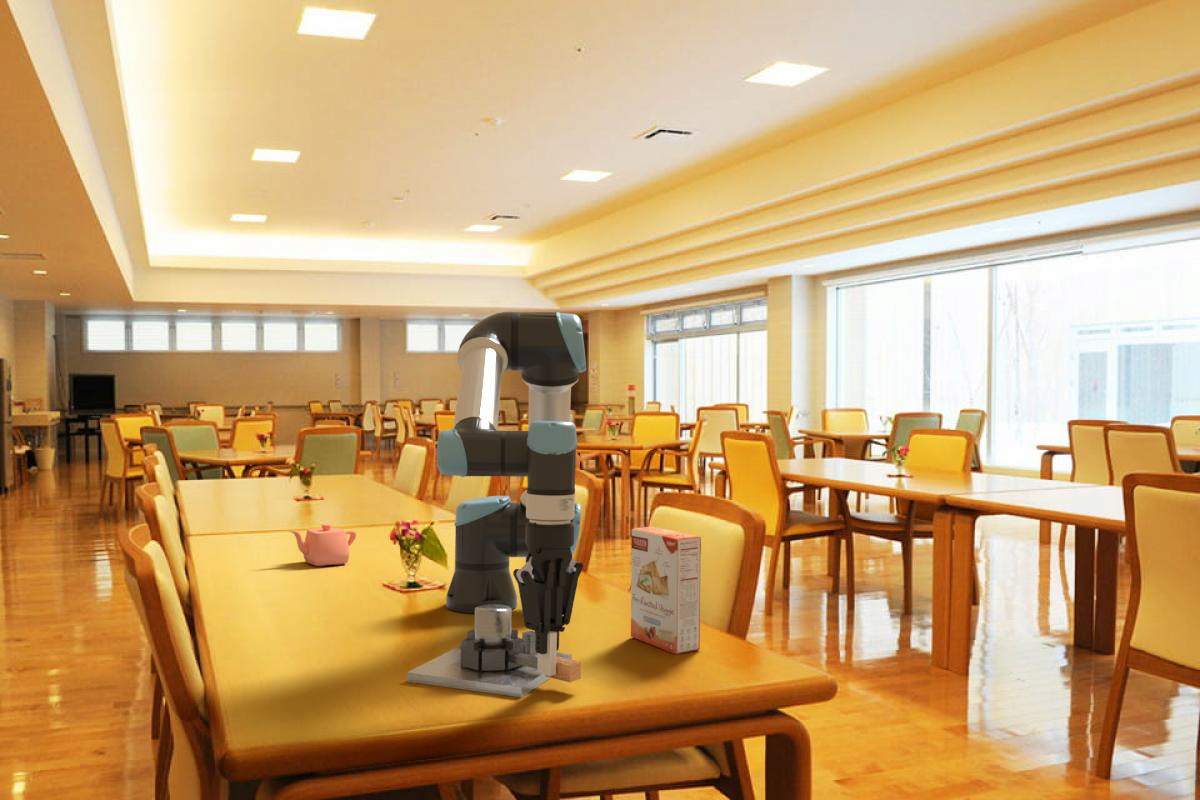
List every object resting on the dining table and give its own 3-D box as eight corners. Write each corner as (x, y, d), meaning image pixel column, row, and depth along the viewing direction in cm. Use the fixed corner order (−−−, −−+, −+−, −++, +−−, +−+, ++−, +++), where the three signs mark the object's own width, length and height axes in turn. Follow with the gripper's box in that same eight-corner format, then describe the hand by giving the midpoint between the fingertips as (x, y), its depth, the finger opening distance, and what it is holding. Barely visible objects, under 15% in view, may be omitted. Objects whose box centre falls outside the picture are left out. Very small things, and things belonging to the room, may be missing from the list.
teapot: (363, 564, 252) (364, 524, 252) (295, 570, 242) (295, 529, 242) (348, 557, 262) (349, 519, 262) (282, 563, 252) (282, 524, 252)
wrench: (447, 662, 157) (447, 636, 157) (491, 649, 165) (492, 624, 165) (553, 690, 143) (553, 661, 143) (596, 674, 151) (596, 647, 151)
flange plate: (407, 681, 152) (407, 615, 152) (467, 650, 171) (468, 591, 170) (521, 697, 145) (522, 628, 145) (571, 662, 164) (572, 601, 163)
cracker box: (628, 638, 181) (629, 527, 180) (653, 634, 184) (655, 525, 184) (674, 655, 169) (676, 537, 169) (701, 651, 172) (702, 535, 172)
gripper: (535, 527, 140) (531, 687, 141) (596, 520, 150) (593, 670, 150) (502, 521, 146) (498, 676, 146) (563, 515, 155) (560, 660, 155)
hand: (546, 673), depth 148 cm, fingers closed
